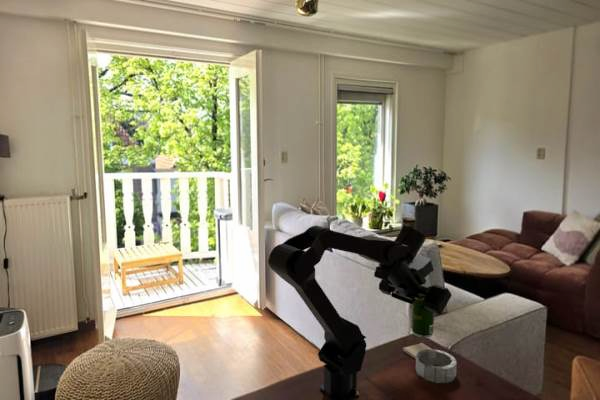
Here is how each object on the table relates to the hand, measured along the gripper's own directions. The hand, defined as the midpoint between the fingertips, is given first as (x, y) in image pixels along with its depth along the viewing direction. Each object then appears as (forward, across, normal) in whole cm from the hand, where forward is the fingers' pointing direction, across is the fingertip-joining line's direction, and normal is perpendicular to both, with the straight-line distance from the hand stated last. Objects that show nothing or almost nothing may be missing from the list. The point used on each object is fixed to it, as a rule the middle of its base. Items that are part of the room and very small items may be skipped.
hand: (426, 307), depth 108 cm
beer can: (+4, 0, +6) cm, 7 cm away
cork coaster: (+8, 0, +10) cm, 12 cm away
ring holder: (+5, -7, +13) cm, 15 cm away
